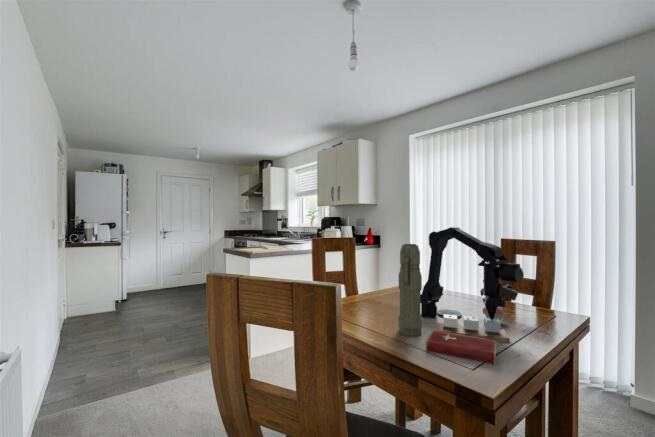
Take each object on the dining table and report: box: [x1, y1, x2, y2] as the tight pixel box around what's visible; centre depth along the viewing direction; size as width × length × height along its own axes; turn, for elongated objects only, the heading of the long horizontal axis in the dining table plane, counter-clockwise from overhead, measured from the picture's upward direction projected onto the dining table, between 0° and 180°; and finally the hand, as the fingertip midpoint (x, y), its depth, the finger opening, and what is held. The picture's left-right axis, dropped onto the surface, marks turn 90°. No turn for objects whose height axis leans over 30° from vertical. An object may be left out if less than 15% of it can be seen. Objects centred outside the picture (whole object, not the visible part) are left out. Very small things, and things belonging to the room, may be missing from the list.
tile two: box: [462, 315, 480, 329], centre depth 124 cm, size 5×5×3 cm
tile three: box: [483, 317, 502, 331], centre depth 121 cm, size 5×5×3 cm
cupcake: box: [482, 306, 505, 322], centre depth 138 cm, size 9×8×12 cm
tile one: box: [443, 313, 458, 327], centre depth 126 cm, size 5×5×3 cm
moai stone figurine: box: [398, 243, 423, 338], centre depth 125 cm, size 9×12×35 cm
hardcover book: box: [425, 330, 498, 366], centre depth 108 cm, size 12×21×4 cm, turn 60°
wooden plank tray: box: [436, 322, 511, 343], centre depth 124 cm, size 25×10×2 cm, turn 70°
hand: (491, 319), depth 121 cm, fingers closed
